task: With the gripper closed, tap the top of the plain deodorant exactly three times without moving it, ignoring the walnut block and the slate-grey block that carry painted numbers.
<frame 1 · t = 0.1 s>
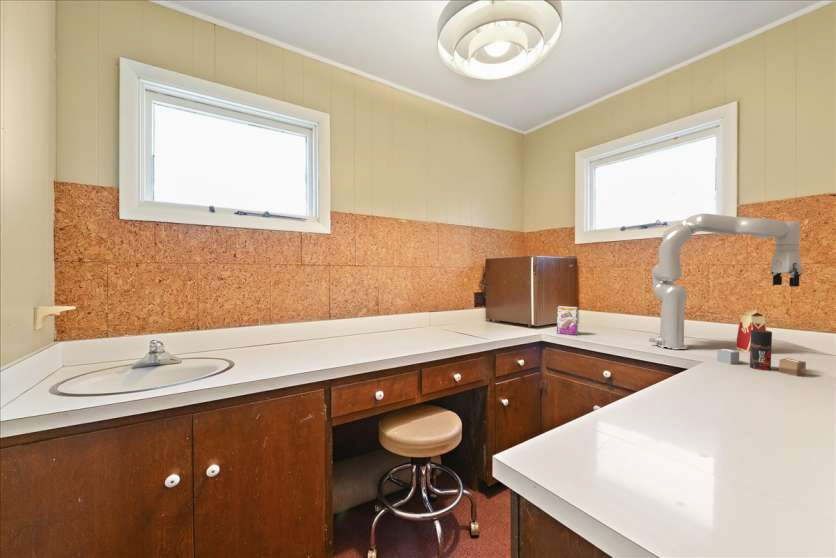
hand: (785, 285, 156), 31 cm above the worktop, tool pointing down, fingers open, 9 cm apart
grey block 7: (727, 362, 144), on the worktop
milk carton: (751, 351, 161), on the worktop
deodorant: (759, 368, 135), on the worktop
walnut block 1: (792, 373, 128), on the worktop
candy bar box: (567, 334, 203), on the worktop
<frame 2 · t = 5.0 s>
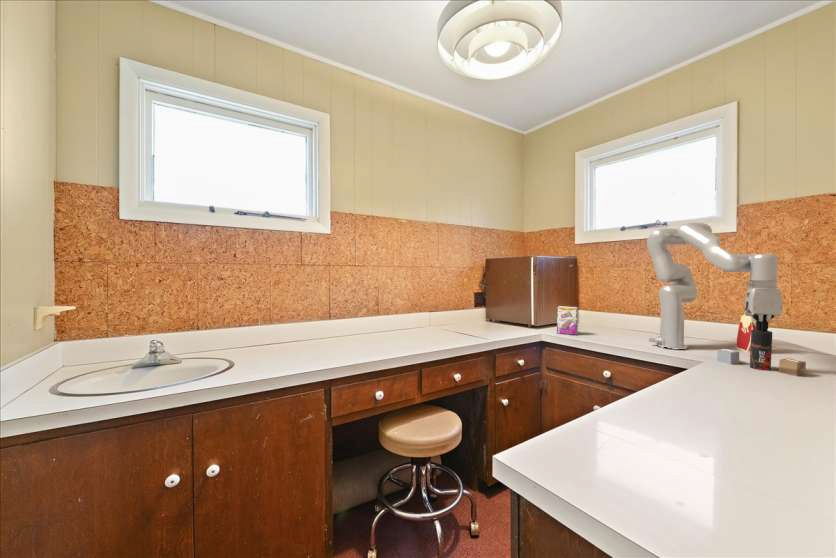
hand: (762, 331, 134), 15 cm above the worktop, tool pointing down, fingers closed
deodorant: (759, 368, 135), on the worktop, touching gripper
everything else where it was.
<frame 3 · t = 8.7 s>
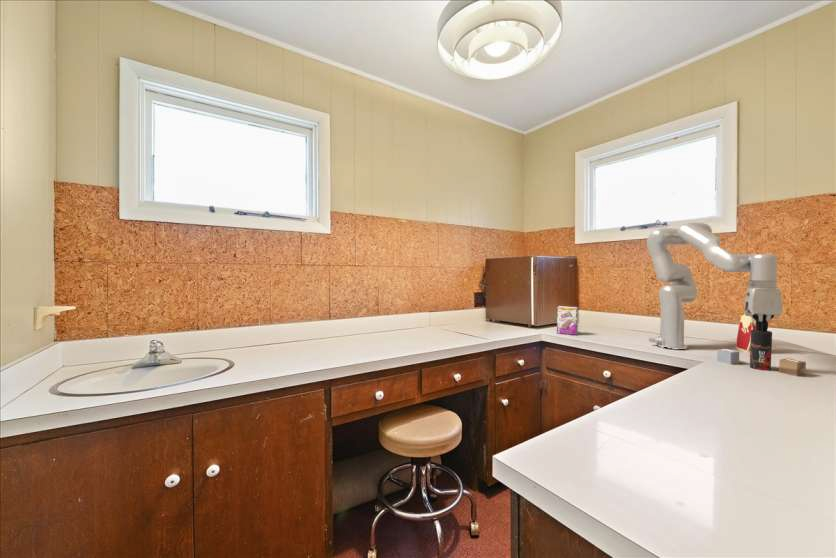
hand: (761, 331, 134), 15 cm above the worktop, tool pointing down, fingers closed
nothing on the worktop moved.
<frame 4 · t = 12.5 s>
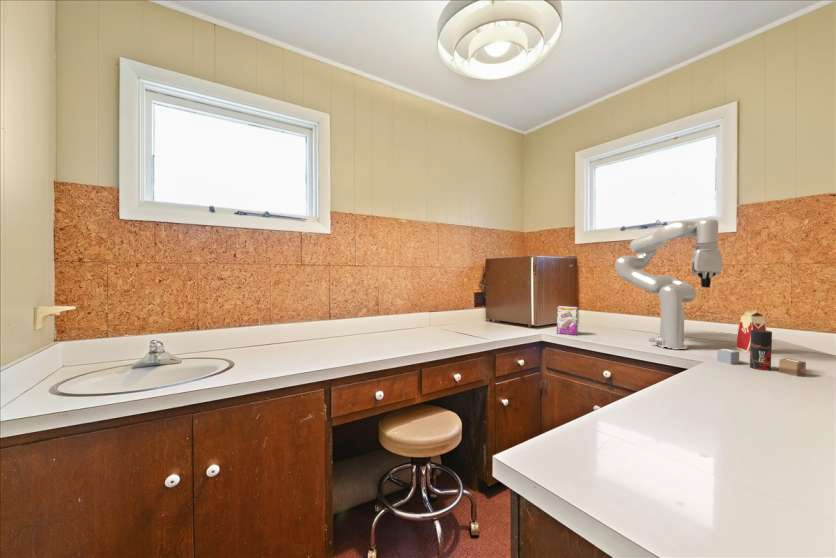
hand: (705, 287, 154), 31 cm above the worktop, tool pointing down, fingers closed
deodorant: (760, 368, 135), on the worktop
everything else where it was.
at the end: deodorant moved 0.2 cm from its start; deodorant tilted 0°; walnut block 1 moved 0.1 cm from its start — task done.
